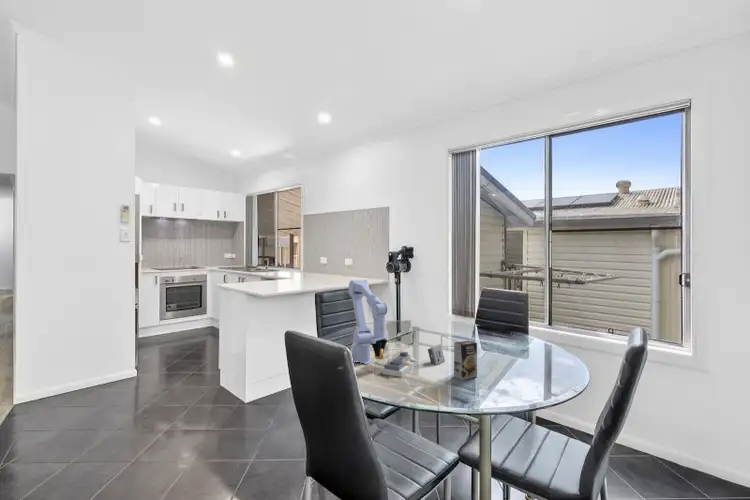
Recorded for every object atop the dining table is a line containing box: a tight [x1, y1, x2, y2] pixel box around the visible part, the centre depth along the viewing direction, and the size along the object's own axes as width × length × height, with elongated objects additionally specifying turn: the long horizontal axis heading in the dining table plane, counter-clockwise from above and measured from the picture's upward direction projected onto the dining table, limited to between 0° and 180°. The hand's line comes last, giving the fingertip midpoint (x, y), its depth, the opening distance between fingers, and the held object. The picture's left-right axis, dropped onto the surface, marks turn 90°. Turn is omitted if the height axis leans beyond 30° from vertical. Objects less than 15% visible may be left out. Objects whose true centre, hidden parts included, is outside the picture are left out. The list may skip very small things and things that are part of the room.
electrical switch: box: [427, 344, 446, 366], centre depth 196 cm, size 9×5×9 cm, turn 141°
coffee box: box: [453, 340, 478, 381], centre depth 172 cm, size 9×6×16 cm
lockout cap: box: [374, 348, 384, 360], centre depth 182 cm, size 4×4×5 cm
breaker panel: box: [381, 354, 418, 378], centre depth 184 cm, size 10×22×5 cm, turn 155°
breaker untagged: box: [399, 351, 409, 357], centre depth 191 cm, size 3×3×2 cm
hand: (379, 355), depth 182 cm, fingers closed on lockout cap, 4 cm apart
